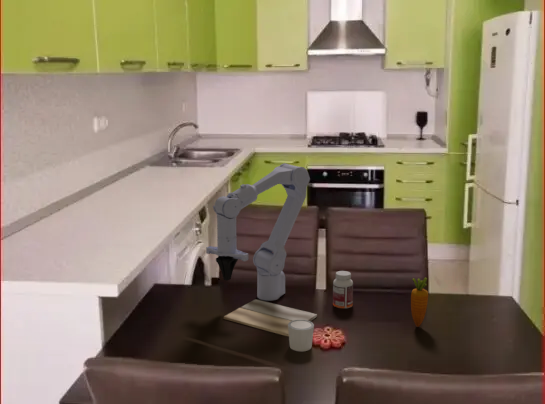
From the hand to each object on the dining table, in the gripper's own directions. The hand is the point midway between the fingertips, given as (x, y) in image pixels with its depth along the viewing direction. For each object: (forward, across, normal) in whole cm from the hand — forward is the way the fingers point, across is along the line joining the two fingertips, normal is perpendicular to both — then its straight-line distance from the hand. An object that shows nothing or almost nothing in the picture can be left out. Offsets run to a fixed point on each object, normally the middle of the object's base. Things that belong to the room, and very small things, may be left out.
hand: (227, 279), depth 186 cm
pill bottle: (+10, +29, +21) cm, 37 cm away
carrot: (+10, +54, +19) cm, 58 cm away
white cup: (+10, +33, -12) cm, 36 cm away
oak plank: (+9, +16, -4) cm, 19 cm away
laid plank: (+9, +16, +4) cm, 19 cm away
